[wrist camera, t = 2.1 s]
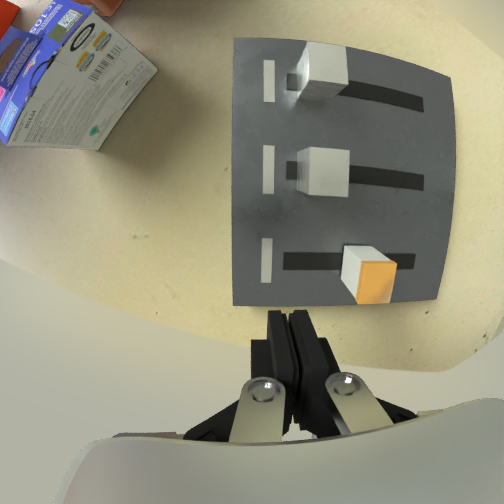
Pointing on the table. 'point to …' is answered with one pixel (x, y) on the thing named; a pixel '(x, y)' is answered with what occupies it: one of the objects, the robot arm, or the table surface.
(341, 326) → the table surface
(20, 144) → the ink cartridge box
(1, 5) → the file binder
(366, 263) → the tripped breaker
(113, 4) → the control panel
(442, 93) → the breaker board
